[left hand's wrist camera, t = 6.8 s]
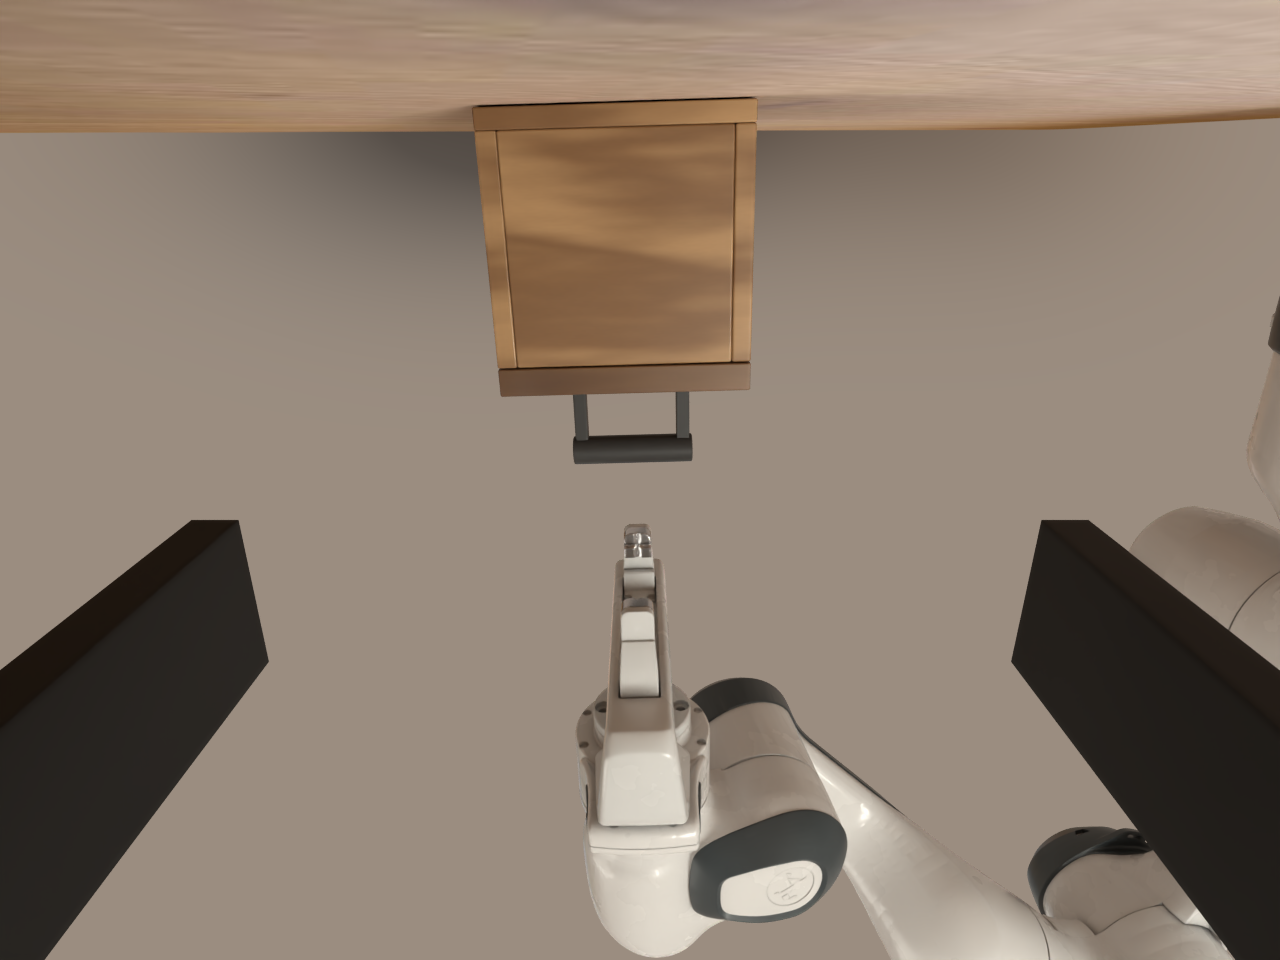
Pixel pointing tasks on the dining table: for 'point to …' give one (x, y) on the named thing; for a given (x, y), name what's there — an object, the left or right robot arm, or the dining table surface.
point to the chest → (619, 231)
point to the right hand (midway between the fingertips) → (637, 562)
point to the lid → (627, 381)
